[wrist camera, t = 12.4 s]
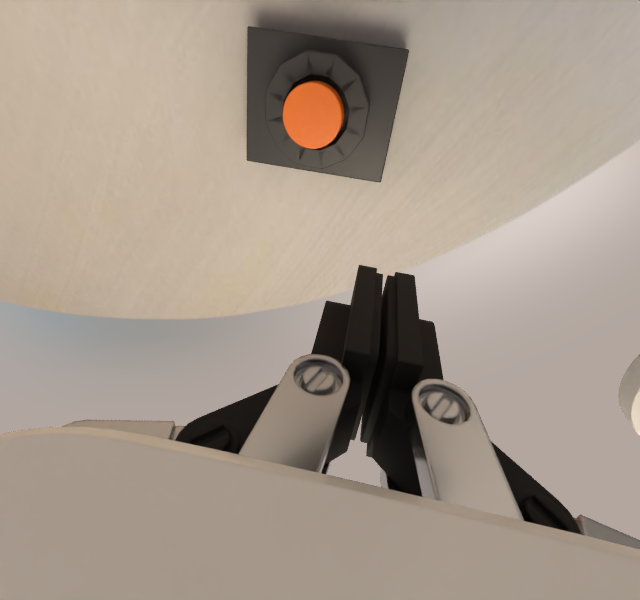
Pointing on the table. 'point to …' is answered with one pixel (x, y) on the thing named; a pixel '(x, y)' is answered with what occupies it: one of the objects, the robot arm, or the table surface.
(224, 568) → the robot arm
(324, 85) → the button
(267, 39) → the block
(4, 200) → the table surface
